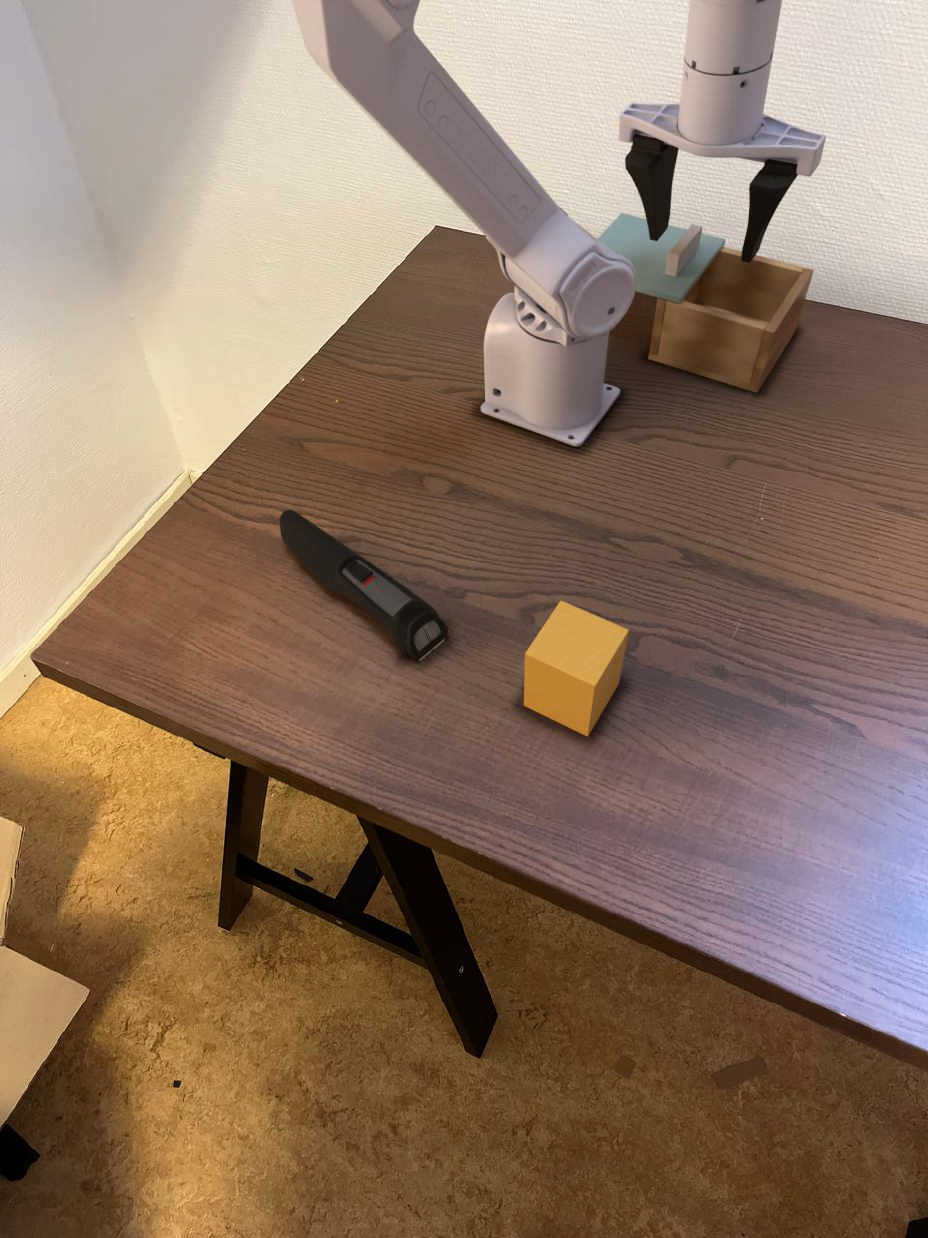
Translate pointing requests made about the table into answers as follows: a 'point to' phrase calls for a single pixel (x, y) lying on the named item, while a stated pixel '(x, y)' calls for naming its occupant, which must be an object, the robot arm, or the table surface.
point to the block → (574, 667)
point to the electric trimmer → (365, 586)
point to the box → (732, 319)
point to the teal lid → (662, 255)
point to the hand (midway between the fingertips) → (703, 244)
